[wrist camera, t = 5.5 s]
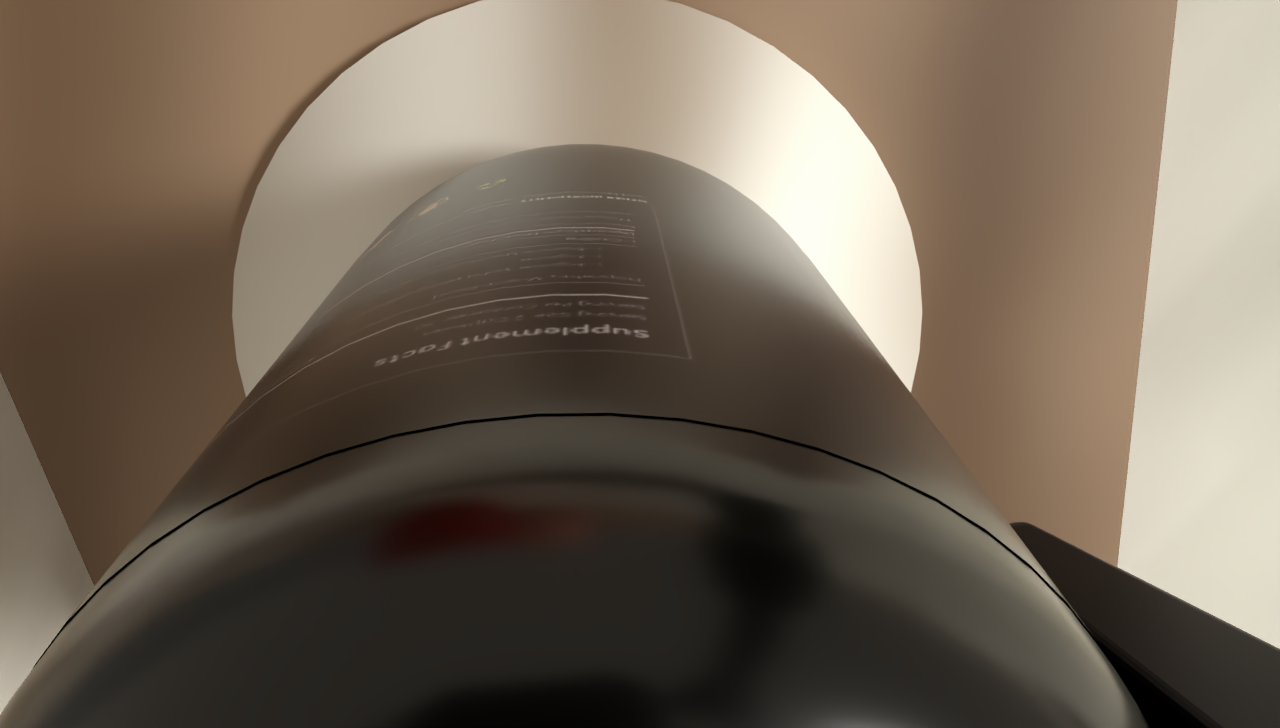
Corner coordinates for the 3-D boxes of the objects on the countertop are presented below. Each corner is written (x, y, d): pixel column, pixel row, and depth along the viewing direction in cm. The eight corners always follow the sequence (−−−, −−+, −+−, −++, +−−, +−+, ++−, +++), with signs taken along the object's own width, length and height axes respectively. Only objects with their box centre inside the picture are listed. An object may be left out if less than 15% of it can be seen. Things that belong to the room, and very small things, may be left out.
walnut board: (1146, -347, 12) (1234, -395, 10) (1066, 630, 19) (1112, 696, 17) (-153, -175, 12) (-269, -196, 10) (219, 740, 19) (183, 817, 17)
